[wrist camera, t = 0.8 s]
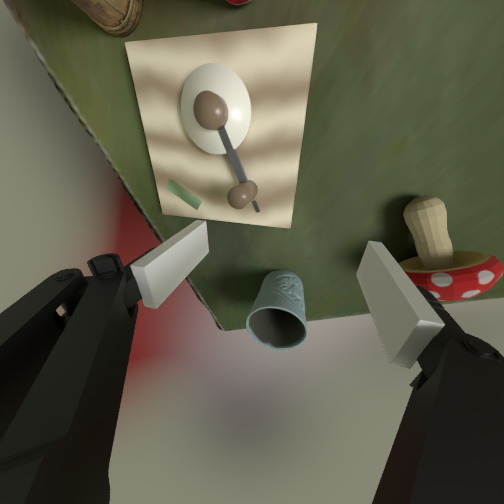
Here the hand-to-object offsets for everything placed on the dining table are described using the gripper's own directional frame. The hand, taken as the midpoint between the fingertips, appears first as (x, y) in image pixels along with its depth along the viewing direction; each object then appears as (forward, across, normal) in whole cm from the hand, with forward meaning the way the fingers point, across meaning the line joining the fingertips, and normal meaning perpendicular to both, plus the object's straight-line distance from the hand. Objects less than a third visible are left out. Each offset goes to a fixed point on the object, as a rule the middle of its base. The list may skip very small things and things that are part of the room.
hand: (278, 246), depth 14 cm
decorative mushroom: (+21, +21, -5) cm, 30 cm away
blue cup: (+21, 0, -20) cm, 29 cm away
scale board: (+20, -12, +6) cm, 25 cm away
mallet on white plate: (+18, -10, +7) cm, 22 cm away
